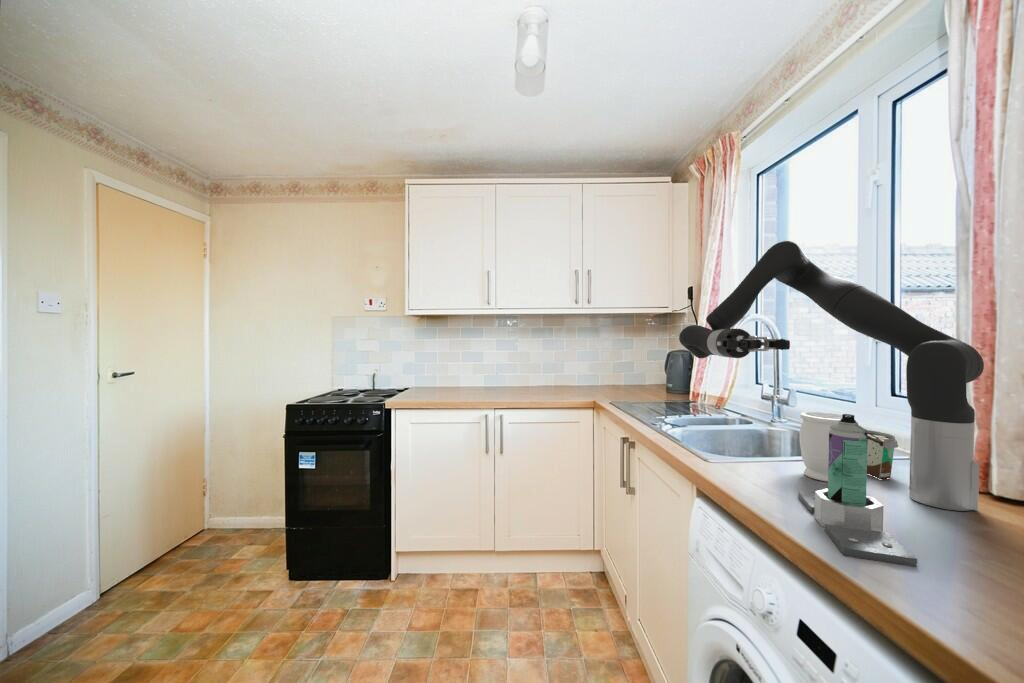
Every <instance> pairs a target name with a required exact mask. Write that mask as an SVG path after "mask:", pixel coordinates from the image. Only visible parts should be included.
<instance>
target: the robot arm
mask: <svg viewBox="0 0 1024 683" xmlns="http://www.w3.org/2000/svg"><path fill="white" fill-rule="evenodd" d="M774 279H775V280H776V281H778V282H780V283H782V284H784V285H786V286H787V287H790V288H792V289H793V290H796V291H798V292H799V293H801V294H803V295H805V296H806V297H808V298H809V299H810V300H812V301H813V302H814V303H815V304H816V305H817V306H818V307H819V308H821V309H822V310H823V311H825V312H826V313H828V314H829V315H830V316H832V318H834V319H836V320H837V321H839V322H840V323H842V324H843V325H845V327H847V328H850V329H852V330H854V331H855V332H858V333H860V334H862V335H864V336H867V337H869V338H871V339H873V340H877V341H879V342H881V343H884V344H886V345H889V346H891V347H893V348H895V349H896V350H898V351H900V352H902V353H903V354H904V355H906V356H907V361H906V368H905V369H906V370H905V371H906V373H905V374H906V377H905V378H906V379H905V380H906V398H907V402H908V405H909V407H910V410H911V411H910V412H911V413H910V452H909V454H910V455H909V460H910V461H909V485H908V486H909V487H908V489H909V490H908V493H909V494H908V496H909V498H910V499H911V500H914V501H915V502H917V503H920V504H922V505H926V506H929V507H934V508H939V509H942V510H943V509H944V510H949V511H957V512H959V511H960V512H964V511H965V512H967V511H979V494H980V493H979V492H980V491H979V489H980V488H979V487H980V462H978V460H975V459H974V453H975V450H974V449H975V420H976V418H975V416H976V415H975V414H976V413H975V409H974V407H972V406H971V405H970V403H969V402H968V397H967V384H968V383H971V382H973V381H975V380H977V379H978V378H980V376H981V375H982V374H983V373H984V368H985V363H984V359H983V357H982V355H981V354H980V353H979V352H978V350H977V349H976V348H975V347H973V346H972V345H970V344H968V343H966V342H964V341H962V340H959V339H957V338H955V337H952V336H951V335H949V334H946V333H944V332H942V331H941V330H937V329H936V328H934V327H931V326H929V325H927V324H925V323H924V322H922V321H920V320H919V319H917V318H915V317H914V316H912V315H911V314H909V313H908V312H906V311H905V310H903V309H902V308H900V307H899V306H897V305H895V304H894V303H893V302H891V301H889V300H887V299H886V298H884V297H883V296H881V295H879V294H877V293H876V292H875V291H873V290H871V289H869V288H867V287H866V286H864V285H862V284H861V283H858V282H856V281H853V280H851V279H845V278H843V277H839V276H835V275H832V274H830V273H828V272H826V271H825V270H824V269H822V268H821V267H819V266H818V265H816V263H814V262H813V261H811V259H810V258H809V257H808V256H807V255H806V253H805V252H804V251H803V249H802V248H801V247H800V246H799V244H798V243H796V242H794V241H791V240H782V241H779V242H777V243H775V244H773V245H772V246H770V247H769V249H768V250H766V251H765V252H764V254H763V255H762V256H761V257H760V258H759V259H758V261H757V262H756V263H755V265H754V266H753V268H751V270H750V271H749V273H747V275H746V276H745V277H744V279H743V280H742V281H741V282H740V283H739V284H738V286H736V288H735V289H734V290H733V291H732V292H731V293H730V294H729V295H728V296H727V297H726V298H725V299H724V300H723V301H722V302H721V303H720V304H719V305H718V306H716V307H715V308H714V309H713V310H712V311H711V312H710V313H709V314H708V315H707V316H706V319H705V320H706V323H707V324H708V325H709V327H710V328H711V329H710V328H708V327H705V326H702V325H698V324H691V325H688V326H686V327H684V328H683V329H682V330H681V332H680V333H679V335H678V336H679V337H678V340H679V342H680V344H681V346H683V347H684V348H685V349H686V350H688V351H689V352H690V353H691V354H692V355H693V356H694V357H696V358H697V359H706V358H707V357H708V358H709V356H718V357H721V358H731V359H732V358H733V359H741V358H744V357H746V356H748V355H749V354H750V353H754V352H769V351H770V350H775V351H778V350H781V351H783V350H784V351H786V350H787V351H789V350H790V347H791V342H790V339H785V338H770V337H768V336H757V335H751V333H749V332H748V331H746V330H745V329H744V328H733V327H734V326H735V325H736V324H737V323H739V322H740V321H741V320H742V319H743V318H744V317H745V316H746V315H747V314H748V312H749V311H750V309H751V307H752V306H753V305H754V303H755V300H756V299H757V297H758V295H759V294H760V293H761V291H762V290H764V288H765V287H766V286H767V285H768V284H769V283H770V282H771V281H773V280H774ZM762 340H763V341H762ZM762 346H763V348H761V347H762Z"/></svg>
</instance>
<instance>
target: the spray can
mask: <svg viewBox="0 0 1024 683" xmlns="http://www.w3.org/2000/svg"><path fill="white" fill-rule="evenodd" d="M841 415H842V419H841V420H840V421H838V422H839V423H836V424H834V425H831V426H830V428H831V429H830V430H829V459H828V482H827V488H828V499H831V500H834V501H837V502H841V503H844V504H849V505H857V506H866V496H867V484H868V483H867V481H868V480H867V479H868V477H867V476H868V475H867V444H868V435H867V433H866V432H867V430H868V429H866V428H864V427H862V426H861V425H859V422H858V421H856V420H855V415H854V414H849V413H844V414H843V413H842V414H841Z"/></svg>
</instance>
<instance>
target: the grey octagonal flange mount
mask: <svg viewBox="0 0 1024 683" xmlns="http://www.w3.org/2000/svg"><path fill="white" fill-rule="evenodd" d="M797 496H798V498H799V500H800V501H801V502H802V503H803V505H804V506H805V507H806V509H807V510H808V512H809V513H810V514H814V515H813V516H814V519H815V521H816V522H817V523H818V525H819V526H820V525H821V527H822V526H823V528H824V532H825V533H826V535H827V534H828V535H829V536H828V535H827V536H828V537H829V538H830V540H831V539H832V540H831V542H833V544H834V543H835V544H836V545H835V544H834V545H835V547H838V548H839V549H838V548H837V549H838V550H839V551H840V553H841V552H842V553H841V554H842V555H843V556H844V555H845V556H844V557H849V556H852V557H851V558H856V557H857V558H858V559H862V558H864V560H869V561H874V562H875V561H876V562H882V561H883V562H882V563H888V562H889V563H890V564H896V565H901V566H902V565H903V566H910V567H915V568H918V558H917V557H916V556H914V555H913V554H912V553H911V551H909V550H908V549H907V548H906V547H905V546H904V545H903V544H902V543H901V542H899V541H898V540H897V539H896V538H895V537H894V536H893V535H892V534H891V533H890V532H885V531H884V504H882V503H881V502H879V500H877V499H876V498H875V497H873V496H869V495H866V506H857V505H849V504H844V503H841V502H837V501H834V500H831V499H828V487H827V488H823V489H819V490H815V491H814V492H809V491H801V490H800V491H799V490H798V492H797Z"/></svg>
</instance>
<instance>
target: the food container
mask: <svg viewBox="0 0 1024 683" xmlns="http://www.w3.org/2000/svg"><path fill="white" fill-rule="evenodd" d="M866 430H867V432H866V433H867V435H868V444H867V474H870V475H872V476H875V477H877V478H879V479H887V478H890V479H891V477H892V476H891V475H892V468H893V460H894V453H895V449H896V448H898V447H899V444H898V440H897V438H896V436H894V435H892V434H889V433H886V432H882V431H875V430H870V429H866Z"/></svg>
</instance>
